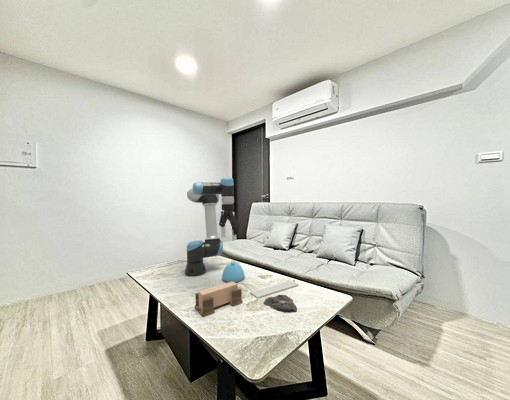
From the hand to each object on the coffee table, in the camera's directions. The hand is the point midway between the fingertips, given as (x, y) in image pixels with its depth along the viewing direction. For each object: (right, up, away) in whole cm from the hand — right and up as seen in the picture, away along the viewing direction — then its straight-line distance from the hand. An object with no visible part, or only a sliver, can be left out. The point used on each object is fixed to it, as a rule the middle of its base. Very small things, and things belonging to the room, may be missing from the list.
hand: (228, 238), depth 131 cm
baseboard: (+28, -31, -1) cm, 41 cm away
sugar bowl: (+1, -31, +17) cm, 35 cm away
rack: (-3, -31, -19) cm, 37 cm away
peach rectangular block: (-3, -30, -19) cm, 36 cm away
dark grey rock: (+31, -31, -19) cm, 47 cm away
